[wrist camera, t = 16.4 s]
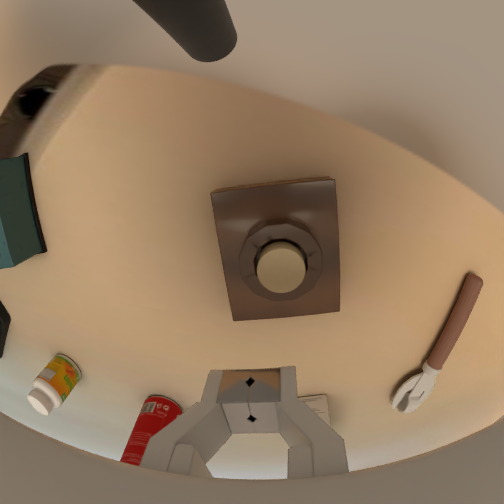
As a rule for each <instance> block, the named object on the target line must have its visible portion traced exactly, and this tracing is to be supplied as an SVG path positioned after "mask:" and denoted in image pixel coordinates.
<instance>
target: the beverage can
mask: <svg viewBox="0 0 504 504" xmlns="http://www.w3.org/2000/svg"><path fill="white" fill-rule="evenodd" d="M181 414H182V411H181V409H180V407H179V406H178V405H177V404H176V403H175V402H174V401H172V400H171V399H168V398H166V397H162V396H152V397H149V398H147V399H146V400H145V402H144V404H143V407H142V409H141V412H140V414H139V416H138V419H137V421H136V423H135V426H134V428H133V431H132V433H131V435H130V438H129V440H128V443H127V445H126V448H125V450H124V453H123V455H122V458H121V460H120V462H124V463H128V464H132V465H136V466H139V465H140V462H141V460H142V457H143V455H144V452H145V450H146V447H147V444H148V442H149V439H150V438H151V437H152V436H154V435H155V434H156V433H158V432H159V431H160V430H162V429H163V428H164V427H166V426H167V425H168V424H170V423H171V422H172V421H173V420H175V419H176V418H177V417H179V416H180V415H181Z"/></svg>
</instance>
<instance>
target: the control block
mask: <svg viewBox="0 0 504 504" xmlns="http://www.w3.org/2000/svg"><path fill="white" fill-rule="evenodd" d="M211 200H212V206H213V212H214V218H215V224H216V230H217V236H218V242H219V247H220V253H221V258H222V264H223V269H224V275H225V280H226V286H227V291H228V296H229V301H230V306H231V311H232V317H233V321H244V320H258V319H271V318H283V317H294V316H304V315H313V314H323V313H331V312H339V311H340V259H339V232H338V214H337V199H336V187H335V179H333V178H331V177H321V178H310V179H299V180H289V181H279V182H270V183H262V184H253V185H245V186H238V187H230V188H223V189H216V190H215V191H213V192H212V193H211ZM279 241H283V242H288V243H291V244H293V245H294V246H296V247H297V248H298V249H299V250H300V252H301V253H302V256H303V259H304V263H305V269H306V272H305V277H304V279H303V281H302V283H301V284H300V285H299V286H298V287H297V288H295V289H294V290H292V291H290V292H286V293H276V292H272V291H270V290H268V289H267V288H265V287H264V286H263V285H262V284H261V283H260V281H259V279H258V276H257V264H258V259H259V255H260V253H261V252H262V250H263V249H264V248H265V247H266V246H268V245H269V244H271V243H274V242H279Z"/></svg>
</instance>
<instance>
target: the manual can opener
mask: <svg viewBox="0 0 504 504" xmlns="http://www.w3.org/2000/svg"><path fill="white" fill-rule="evenodd" d="M482 285H483V280H482V279H481V278H480V277H478V276H476V275H474V274H469V275H468V276H467V278H466V280H465V283H464V285H463V288H462V290H461V293H460V295H459V297H458V300H457V302H456V304H455V307H454V309H453V311H452V313H451V315H450V318H449V320H448V322H447V324H446V326H445V328H444V330H443V332H442V334H441V336H440V338H439V340H438V342H437V343H436V345H435V347H434V349H433V351H432V353H431V354H430V356H429V358H428V359H427V360H426V361H425V363H424V365H423V366H422V369H423V371H424V372H421V373H419V374H417V375H415V376H412V377H411V378H410V379H408V380H407V381H406V382H404V383H403V385H402V386H401V387H400V388H399V389H398V390H397V392H396V394H395V395H394V397H393V400H392V408H393V410H394V409H395V408H396V406H397V408H398V411H400V412H402V413H408V412H414V411H416V409H417V408H418V406H419V405H420V404H421V403H422V402H423V401H424V400H425V399H426V398H427V397H428V396H429V394H430V393H431V392H432V390H433V388H434V385H435V378H434V377H436V376H438V374H439V372H440V371H441V369H442V366H443V364H444V363H445V361H446V359H447V357H448V356H449V354H450V352H451V350H452V349H453V347H454V345H455V343H456V341H457V339H458V338H459V336H460V334H461V332H462V330H463V328H464V326H465V324H466V322H467V320H468V318H469V315H470V313H471V311H472V309H473V307H474V305H475V302H476V300H477V298H478V295H479V293H480V290H481V288H482ZM411 389H412V390H411Z"/></svg>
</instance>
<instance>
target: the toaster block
mask: <svg viewBox="0 0 504 504" xmlns="http://www.w3.org/2000/svg"><path fill="white" fill-rule="evenodd" d="M45 252H47V249H46V245H45V241H44V238H43V234H42V230H41V226H40V222H39V217H38V213H37V208H36V203H35V198H34V193H33V187H32V181H31V175H30V168H29V160H28V153H24V154H22V155H20V156H19V157H15V158H9V159H3V160H0V269H3V268H10V267H15V266H16V265H18V264H20V263H21V262H23V261H25V260H27V259H28V258H30V257H32V256H34V255H35V254H40V253H45Z"/></svg>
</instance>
